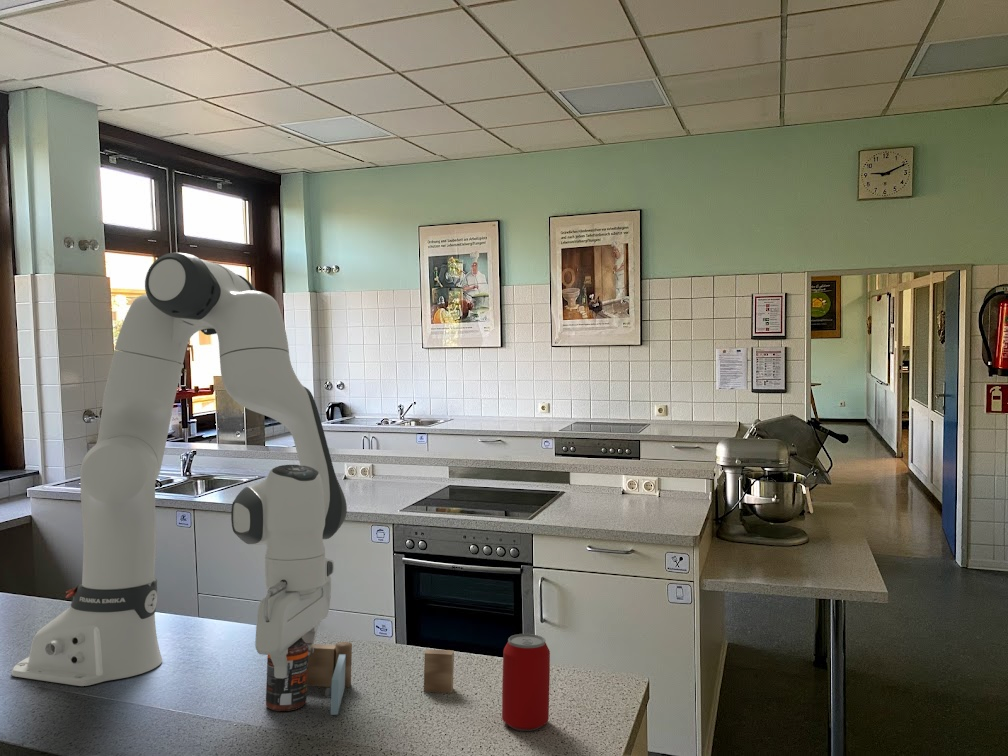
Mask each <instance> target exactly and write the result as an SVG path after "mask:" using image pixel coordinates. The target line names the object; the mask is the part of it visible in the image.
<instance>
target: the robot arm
mask: <svg viewBox="0 0 1008 756" xmlns="http://www.w3.org/2000/svg"><path fill="white" fill-rule="evenodd" d="M144 279H145V280H144V291H145V293H144V294H142V295H139V296H137V297H136V298H135V299H134V300H133V302H132V303H131V305H130V306H129V309H128V310H127V313H126V315H125V317H124V319H123V321H122V325H121V328H120V330H119V333H118V336H117V339H116V343H115V347H114V350H113V354H112V358H111V362H110V366H109V370H108V375H107V379H106V384H105V388H104V391H103V396H102V397H103V398H102V399H103V400H102V407H101V409H102V410H101V415H100V422H99V428H98V433H97V439H96V444H95V445H93V446H92V447H90V449H89V450H88V451H87V453H86V454H85V456H84V457H83V459H82V461H81V465H80V508H81V520H82V530H83V531H82V533H83V544H82V545H83V547H82V549H83V550H82V575H81V580H82V581H81V583H80V584H77V585H76V586H74V587H73V588H72V589H69V590H67V591H65V593H66V594H67V593H68V594H67V595H66V596H65V598H66V599H69V598H71V597H72V601H71V603H70V606H69V607H68V608H66V609H65V610H64V611H63V612H61V613H60V614H58V615H57V616H56V617H54V619H52V620H50V622H48V623H46V624H45V625H44V626H43V627H41V628H40V629H39V630H37V632H36V634H35V635H34V636H33V638H32V642H31V645H30V651H29V655H28V657H26V658H24V659H23V660H20V661H19V662H18V663H16V664H15V665H14V667H13V668H12V672H11V675H12V677H16V678H17V677H18V678H24V679H29V680H36V681H44V682H51V683H56V684H57V683H58V684H63V685H70V686H78V687H84V686H85V687H87V686H91V685H95V684H99V683H103V682H108V681H113V680H120V679H125V678H130V677H134V676H138V675H141V674H144V673H147V672H149V671H151V670H154V669H156V668H157V667H158V666H161V664H162V662H163V658H162V654H161V650H160V647H159V641H158V635H157V634H158V633H157V626H156V612H157V611H156V610H157V604H158V603H157V602H158V580H157V579H156V578H155V576H156V575H155V574H156V573H155V572H156V549H157V547H156V544H157V527H156V526H157V524H156V481H157V479H158V477H159V475H160V472H161V468H162V465H163V459H164V454H165V451H166V450H165V449H166V445H167V440H168V435H169V430H170V424H171V420H172V414H173V408H174V404H175V400H176V395H177V391H178V387H179V382H180V377H181V374H182V370H183V365H184V360H185V356H186V351H187V347H188V344H189V341H190V339H191V338H192V337H193V336H194V335H195V334H196V333H198V332H201V333H203V334H204V335H207V336H211V335H216V336H217V341H218V348H219V349H218V351H219V353H218V354H219V364H220V365H219V366H220V373H221V374H220V375H221V381H222V384H223V388H224V390H225V391H226V393H227V394H228V396H230V398H231V399H232V400H234V401H235V402H236V403H237V404H239V406H241V407H243V408H245V409H246V410H249V411H252V412H253V413H258V414H260V415H262V416H266V417H268V418H270V419H273V420H274V421H277V422H278V423H280V425H281V424H282V425H283V426H284V427H285V428H286V429H287V430H288V431H289V433H290V434H291V436H292V439H293V443H294V446H295V450H296V453H297V458H298V461H299V464H284V465H279V466H275V467H273V468H272V469H270V470H269V472H268V473H267V478H265V479H264V480H262V481H261V482H258V483H256V484H253V485H250V486H246V487H244V488H242V490H241V491H239V493H238V494H237V495H236V496H235V499H234V500H233V501H232V504H231V513H230V514H231V517H230V519H231V529H232V531H233V533H234V535H235V536H237V537H238V538H239V540H241V541H242V542H244V543H245V544H247V545H252V546H253V545H254V546H265V545H266V546H265V547H266V551H265V555H264V587H265V588H266V589H267V592H266V593H267V594H266V596H265V597H263V599H262V600H260V602H259V606H258V608H257V615H256V627H255V643H254V645H255V649H256V652H257V654H259V655H266V656H268V655H270V657H271V660H272V663H273V665H274V676H275V677H276V678H285V677H286V676H287V675H289V673H290V663H287V657H286V655H287V654H288V648H289V647H290V646H291V645H292V644H294V643H295V642H296V641H297V640H299V639H300V638H301V637H302V636H303V637H302V639H303V640H304V642H306V643H307V645H308V656H310V655H311V654H312V653H313V652H314V644H315V640H316V636H317V633H318V624H320V623H321V622H322V621H324V620H325V619H326V618H327V617H328V615H329V611H330V607H331V595H332V577H331V575H333V574H334V571H335V561H334V560H332V559H330V558H326V548H325V545H324V540H329V539H331V538H332V537H333V536H334V535H335V534H336V533H337V532H338V531H339V530H340V528H341V527H342V525H343V524H344V522H345V520H346V517H347V514H348V513H347V512H348V509H347V507H348V506H347V505H348V504H347V501H346V498H345V493H344V491H343V489H342V486H341V485H340V483H339V480H338V478H337V475H336V472H335V469H334V466H333V464H334V463H333V462H332V461H333V460H332V458H331V453H330V450H329V447H328V442H327V439H326V434H325V431H324V428H323V427H324V426H323V424H322V421H321V417H320V416H321V415H320V412H319V410H318V406H317V403H316V401H315V397H314V396H313V393H312V392H311V390H310V389H308V388H307V387H306V386H304V385H303V384H302V383H301V381H300V380H299V378H298V376H297V375H296V373H295V371H294V368H293V364H292V362H291V357H290V349H289V342H288V337H287V336H288V335H287V331H286V327H285V323H284V322H285V321H284V319H283V315H282V312H281V309H280V306H279V303H278V301H277V300H276V299H275V298H274V297H273V296H272V295H270V294H268V293H266V292H263V291H259V290H257V289H256V288H255V286H254V285H253V284H252V283H251V282H250V281H249V280H248V279H247V278H246V277H244V276H242V275H240V274H236V273H235V272H234V271H232V270H231V269H229V268H227V267H225V266H223V265H221V264H219V263H216V262H211V261H209V260H205V259H201V258H200V257H197V256H196V255H194V254H190V253H184V252H169V253H165V254H163V255H161V256H159V257H158V258H157V259H155V260H154V262H153V263H152V264H151V265H150V266H149V268H148V271H147V272H146V276H145V278H144Z"/></svg>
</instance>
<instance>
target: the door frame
mask: <svg viewBox="0 0 1008 756" xmlns="http://www.w3.org/2000/svg"><path fill="white" fill-rule="evenodd" d="M352 651H353V643H352V642H350V641H340V642H337V643H336V644H322V643H320V644H319V643H316V644H315V643H314V652H313V653H312V654H311V655H310V656H308V673H307V687H308V686H309V687H325V688H331V686H332V677H333V674H334V670H335V667H336V664H337V660H338V657H339V654H346V663H345V688H344V689H346V688H349V687H350V686H352V660H353V659H352V658H353V657H352V656H353V655H352V654H353V652H352ZM454 657H455V651H454V650H452V649H451V650H450V649H427V648H426V650H425V652H424V667H423V668H424V669H423V670H424V671H423V692H426V693H443V694H452V692H453V690H454V667H455V666H454V665H455V664H454V662H455V661H454V660H455V658H454Z"/></svg>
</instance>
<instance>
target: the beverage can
mask: <svg viewBox="0 0 1008 756" xmlns="http://www.w3.org/2000/svg"><path fill="white" fill-rule="evenodd" d="M502 653H503V656H502V687H501V688H502V690H501V691H502V693H501V694H502V696H501V698H502V699H501V703H502V704H501V708H502V709H501V719H502V720H503V722H504V724H507V725H508V726H509V727H511V728H512V729H514V730H517V731H526V732H529V731H535V730H538V729H540V728H541V727H543V726H545V725H546V724H547V723H548V721H549V718H550V717H549V716H550V715H549V713H550V711H549V710H550V682H551V681H550V680H551V679H550V677H551V676H550V671H551V670H550V669H551V668H550V667H551V651H550V649H549V646H548V645H547V643H546V639H545V637H543V636H541V635H538V634H533V633H519V634H514V635H511V636H510V637H508V639H507V643H506V644H505V646H504V648H503V652H502Z"/></svg>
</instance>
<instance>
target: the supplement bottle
mask: <svg viewBox="0 0 1008 756" xmlns="http://www.w3.org/2000/svg"><path fill="white" fill-rule="evenodd" d="M302 637H303V636H302ZM302 637H301V638H300V639H299V640H297V641H296V642H295V643H294V644H292V645H291V646H290V647H289V648H288V654H287V655H286V657H287V663H290V673H289V675H287V676H286V677H285V678H276V677H275V676H274V665H273V663H272V660H271V657H270V655H267V660H266V661H267V662H266V686H265V687H266V691H265V706H266V707H267V708H268V709H270V710H271V711H275V712H291V711H294V710H295V711H296V710H297V709H301V708H302V707H303V706H305V704H306V703H307V698H308V696H307V695H308V694H307V693H308V692H307V691H308V686H307V673H308V645H307V643H306V642H304V640H303V639H302Z"/></svg>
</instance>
